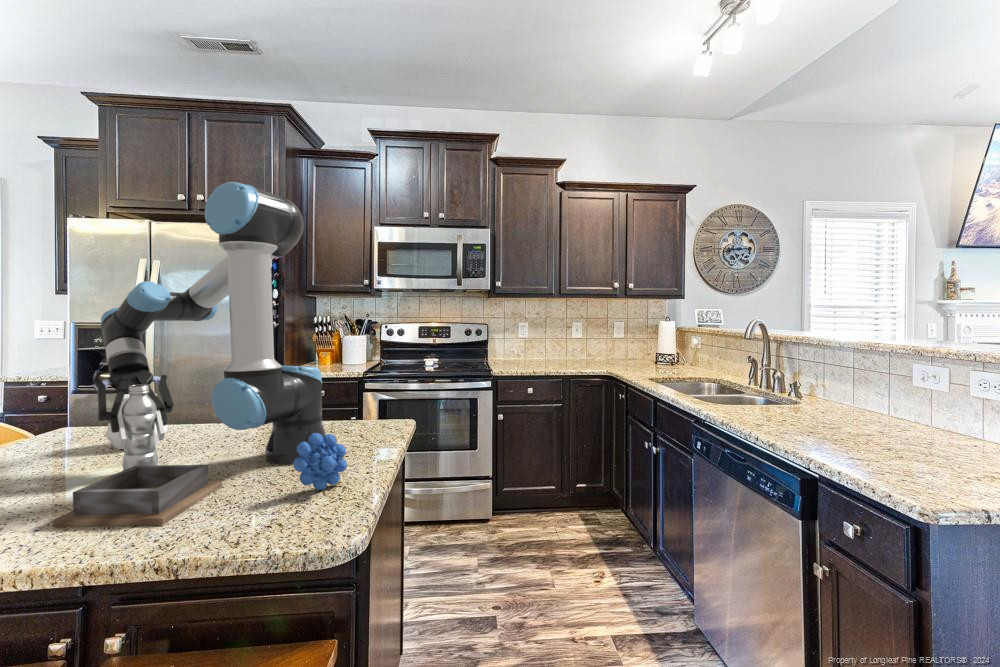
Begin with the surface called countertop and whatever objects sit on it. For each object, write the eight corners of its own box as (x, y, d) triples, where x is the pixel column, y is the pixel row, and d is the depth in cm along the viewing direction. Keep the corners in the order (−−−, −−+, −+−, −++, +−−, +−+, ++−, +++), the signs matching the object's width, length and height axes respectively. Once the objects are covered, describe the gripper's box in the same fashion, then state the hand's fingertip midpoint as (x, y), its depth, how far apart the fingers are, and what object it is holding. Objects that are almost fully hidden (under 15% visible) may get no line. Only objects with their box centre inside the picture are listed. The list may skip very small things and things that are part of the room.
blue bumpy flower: (305, 503, 88) (304, 441, 87) (287, 495, 92) (287, 435, 92) (358, 486, 97) (357, 429, 96) (340, 479, 101) (339, 424, 101)
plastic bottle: (118, 480, 100) (116, 388, 100) (126, 471, 106) (124, 384, 106) (155, 475, 103) (153, 386, 103) (161, 467, 109) (159, 382, 109)
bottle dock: (222, 486, 97) (221, 462, 96) (162, 525, 79) (162, 494, 78) (133, 487, 96) (132, 462, 96) (53, 526, 78) (52, 496, 78)
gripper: (172, 368, 121) (190, 441, 111) (73, 374, 107) (84, 458, 97) (177, 348, 118) (196, 422, 107) (75, 352, 104) (86, 438, 93)
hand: (143, 439), depth 102 cm, fingers closed on plastic bottle, 6 cm apart
